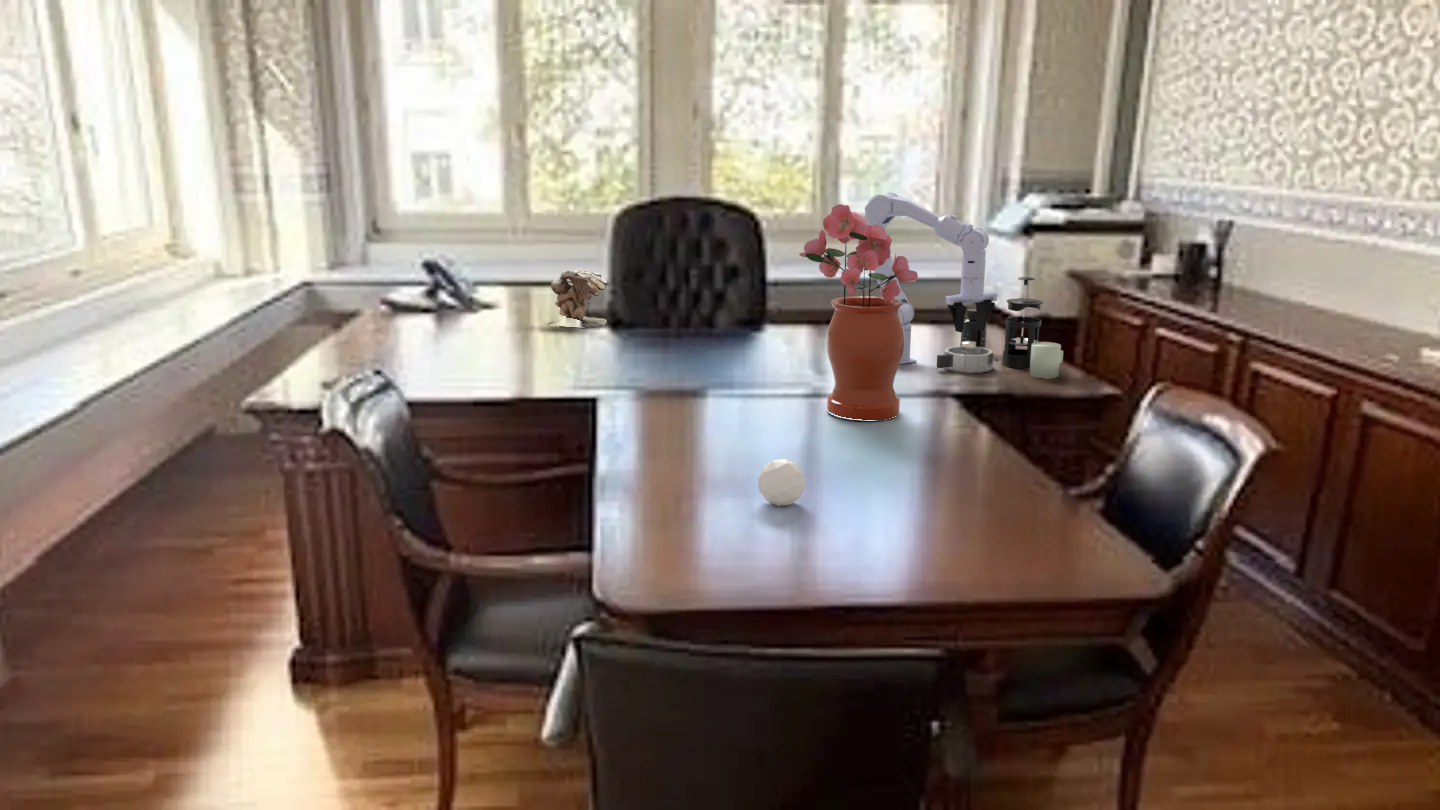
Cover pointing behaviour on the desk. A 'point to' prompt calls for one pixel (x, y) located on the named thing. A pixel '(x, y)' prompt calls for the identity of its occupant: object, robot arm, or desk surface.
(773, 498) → the geometric ball
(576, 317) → the cherub figurine
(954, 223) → the robot arm
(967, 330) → the supplement bottle
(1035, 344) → the sage mug
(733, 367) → the desk surface
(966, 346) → the plunger
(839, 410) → the potted flower
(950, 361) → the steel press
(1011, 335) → the french press
